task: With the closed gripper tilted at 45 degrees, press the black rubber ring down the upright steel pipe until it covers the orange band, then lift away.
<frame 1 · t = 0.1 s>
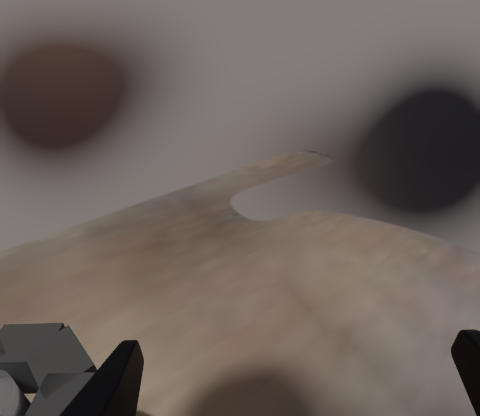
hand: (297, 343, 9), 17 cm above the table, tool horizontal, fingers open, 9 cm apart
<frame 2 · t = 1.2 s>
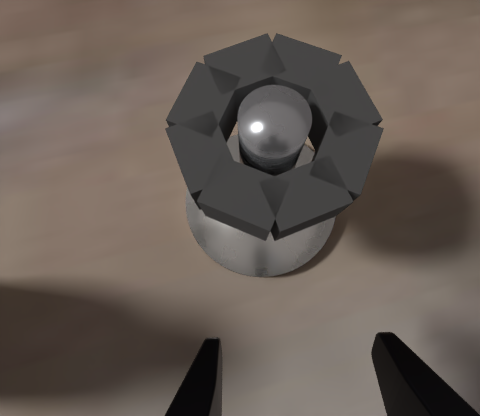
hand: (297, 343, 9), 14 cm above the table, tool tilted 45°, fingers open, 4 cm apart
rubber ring: (271, 138, 14), point 11 cm above the table, slide at 10.8 cm
pipe stand: (260, 203, 24), on the table
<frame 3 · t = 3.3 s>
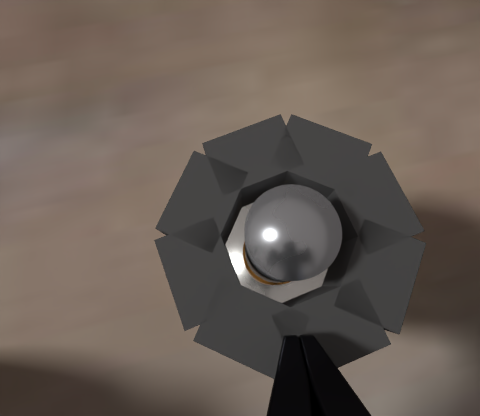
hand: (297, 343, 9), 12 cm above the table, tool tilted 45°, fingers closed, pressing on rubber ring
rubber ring: (284, 241, 11), point 10 cm above the table, slide at 10.3 cm, touching gripper
pipe stand: (266, 262, 21), on the table
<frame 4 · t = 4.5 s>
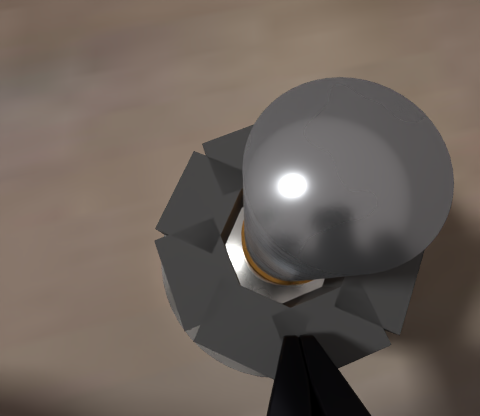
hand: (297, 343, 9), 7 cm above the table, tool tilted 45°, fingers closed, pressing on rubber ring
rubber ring: (284, 241, 11), point 5 cm above the table, slide at 5.4 cm, touching gripper
pipe stand: (272, 255, 16), on the table
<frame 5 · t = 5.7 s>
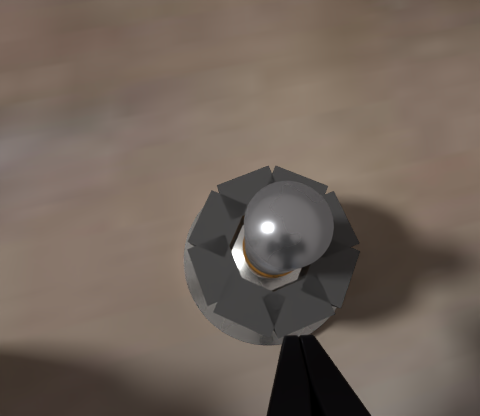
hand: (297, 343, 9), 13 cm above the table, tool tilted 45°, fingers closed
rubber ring: (271, 249, 17), point 5 cm above the table, slide at 5.4 cm
pipe stand: (265, 258, 22), on the table
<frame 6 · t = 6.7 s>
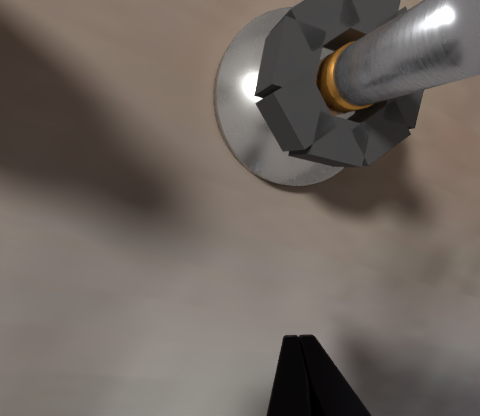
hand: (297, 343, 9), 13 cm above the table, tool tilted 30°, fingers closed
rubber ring: (340, 83, 16), point 5 cm above the table, slide at 5.4 cm
pipe stand: (294, 103, 21), on the table
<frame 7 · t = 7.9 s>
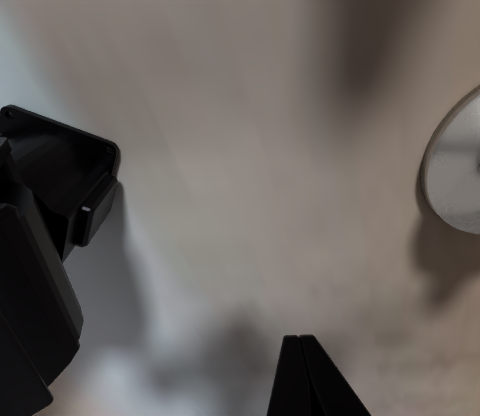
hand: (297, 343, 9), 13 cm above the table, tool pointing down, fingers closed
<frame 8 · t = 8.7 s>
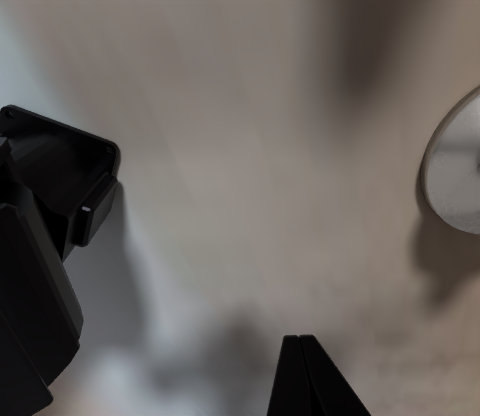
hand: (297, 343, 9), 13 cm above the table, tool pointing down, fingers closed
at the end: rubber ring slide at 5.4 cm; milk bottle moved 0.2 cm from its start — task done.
